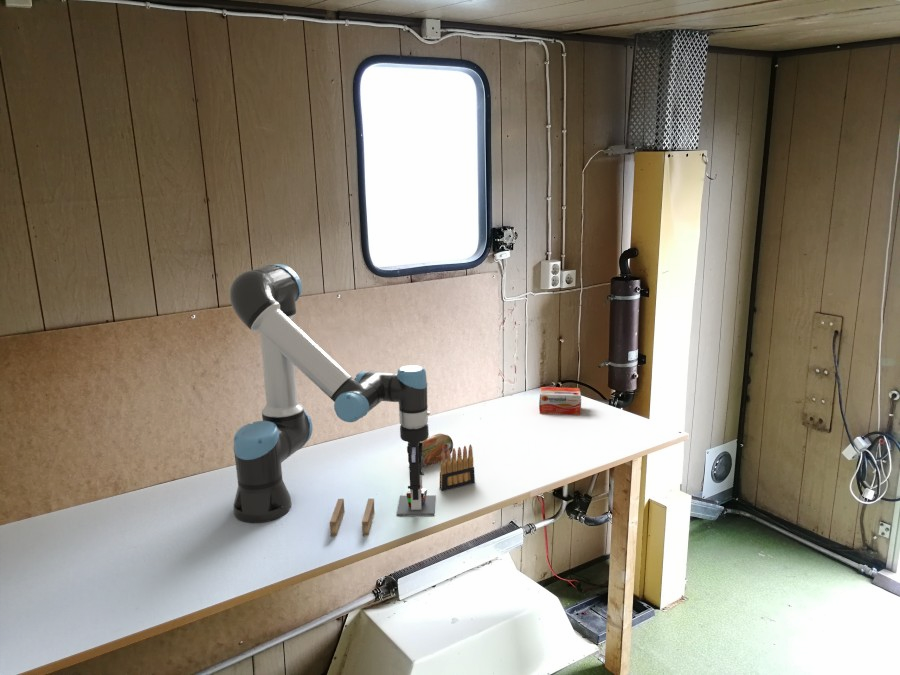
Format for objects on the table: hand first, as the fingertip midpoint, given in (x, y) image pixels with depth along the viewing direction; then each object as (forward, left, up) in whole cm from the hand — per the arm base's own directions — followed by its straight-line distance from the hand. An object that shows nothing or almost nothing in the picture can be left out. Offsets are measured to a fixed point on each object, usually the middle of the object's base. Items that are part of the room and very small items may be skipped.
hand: (417, 503), depth 187 cm
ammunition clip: (+11, +12, -1) cm, 16 cm away
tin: (+3, +28, -1) cm, 28 cm away
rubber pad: (0, 0, -1) cm, 1 cm away
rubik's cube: (0, 0, -1) cm, 0 cm away
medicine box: (+49, +72, -1) cm, 86 cm away
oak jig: (-16, -9, -1) cm, 18 cm away
